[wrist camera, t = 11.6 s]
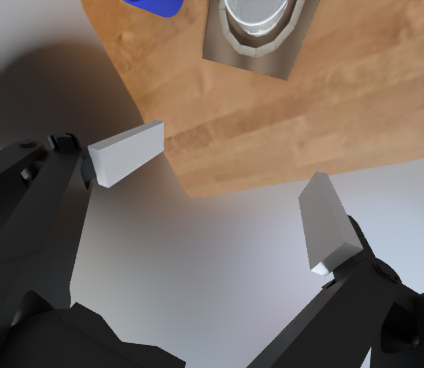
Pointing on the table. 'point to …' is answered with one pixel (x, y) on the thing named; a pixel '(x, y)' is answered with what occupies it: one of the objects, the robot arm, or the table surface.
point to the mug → (158, 6)
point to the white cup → (257, 14)
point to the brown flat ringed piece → (258, 39)
